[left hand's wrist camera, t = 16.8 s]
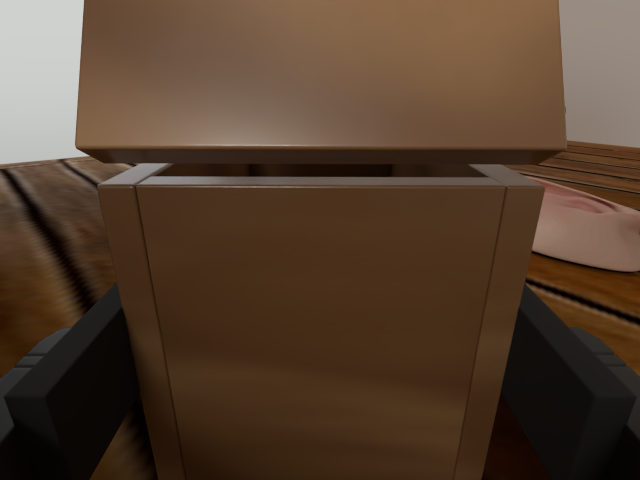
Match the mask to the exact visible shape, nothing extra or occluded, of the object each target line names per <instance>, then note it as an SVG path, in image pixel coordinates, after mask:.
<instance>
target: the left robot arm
mask: <svg viewBox="0 0 640 480" xmlns="http://www.w3.org/2000/svg"><path fill="white" fill-rule="evenodd" d="M139 392H140V389H139V384H138V379H137V375H136V370H135V365H134V360H133V356H132V351H131V346H130V342H129V337H128V332H127V328H126V323H125V318H124V314H123V309H122V304H121V299H120V295H119V290H118V285H117V283H116V284H115V285H114V286H113V287H112V288H111V289H110V290H109V291H108V292H107V293H106V294H105V295H104V296H103V297H102V298H101V299H100V300H99V301H98V302H97V303H96V304H95V305H94V306H93V307H92V308H91V309H90V310H89V311H88V312H87V313H86V314H85V315H84V316H83V317H82V318H81V319H80V320H79V321H78V322H77V323H76V324H75V325H74V326H73V327H72V328H71V329H60V330H58V331H57V332H55V333H53V334H51V335H50V336H48V337H46V338H45V339H43V340H41V341H40V342H39V343H38V344H37V345H36V346H35V347H34V348H33V349H32V350H31V351H30V352H29V353H28V354H27V357H23V358H22V359H21V360H20V361H19V362H18V363H17V364H16V365H15V368H12V369H11V370H10V371H9V372H7V373H6V374H5V375H4V376H3V377H2V378H1V379H0V480H89V479H90V477H91V476H92V474H93V472H94V470H95V469H96V467H97V465H98V463H99V462H100V460H101V458H102V457H103V455H104V453H105V451H106V450H107V448H108V446H109V444H110V443H111V441H112V439H113V437H114V436H115V434H116V432H117V430H118V429H119V427H120V425H121V423H122V422H123V420H124V418H125V416H126V415H127V413H128V411H129V409H130V408H131V406H132V404H133V402H134V401H135V399H136V397H137V395H138V394H139ZM501 393H502V395H503V396H504V398H505V400H506V402H507V403H508V405H509V407H510V409H511V410H512V412H513V414H514V416H515V417H516V419H517V421H518V423H519V424H520V426H521V428H522V430H523V431H524V433H525V435H526V437H527V438H528V440H529V442H530V444H531V445H532V447H533V449H534V450H535V452H536V454H537V456H538V457H539V459H540V461H541V463H542V464H543V466H544V468H545V470H546V471H547V473H548V475H549V477H550V478H551V480H606V479H608V480H640V377H639V376H638V375H637V374H636V373H635V372H634V371H633V370H632V369H631V368H630V367H626V363H624V362H623V361H622V360H621V359H620V358H619V357H618V356H617V355H614V352H613V351H612V350H611V349H610V348H608V347H607V346H606V345H605V344H604V343H603V342H602V341H601V340H600V339H599V338H597V337H595V336H593V335H592V334H590V333H588V332H586V331H585V330H583V329H581V328H580V327H567V326H566V325H565V324H564V322H563V321H562V320H561V319H560V318H559V317H558V316H557V315H556V314H555V313H554V312H553V311H552V310H551V309H550V308H549V307H548V306H547V305H546V304H545V303H544V302H543V301H542V300H541V299H540V298H539V297H538V296H537V295H536V294H535V293H534V292H533V291H532V290H531V289H530V288H529V287H528V286H527V285H526V284H525V283H524V288H523V293H522V297H521V302H520V306H519V309H518V313H517V318H516V322H515V327H514V332H513V336H512V341H511V346H510V350H509V355H508V359H507V364H506V369H505V373H504V378H503V383H502V387H501Z"/></svg>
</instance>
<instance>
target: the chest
mask: <svg viewBox="0 0 640 480" xmlns="http://www.w3.org/2000/svg"><path fill="white" fill-rule="evenodd" d="M97 190H98V195H99V200H100V204H101V209H102V214H103V219H104V223H105V228H106V233H107V238H108V242H109V247H110V252H111V257H112V261H113V266H114V271H115V276H116V280H117V285H118V290H119V295H120V299H121V304H122V309H123V314H124V318H125V323H126V328H127V332H128V337H129V342H130V346H131V351H132V356H133V360H134V365H135V370H136V375H137V379H138V384H139V389H140V394H141V399H142V404H143V408H144V413H145V418H146V423H147V427H148V432H149V437H150V442H151V446H152V451H153V456H154V460H155V465H156V470H157V475H158V479H159V480H481V479H482V475H483V470H484V466H485V461H486V457H487V452H488V447H489V443H490V438H491V434H492V429H493V425H494V420H495V416H496V411H497V406H498V402H499V397H500V393H501V387H502V383H503V378H504V373H505V369H506V364H507V359H508V355H509V350H510V346H511V341H512V336H513V332H514V327H515V322H516V318H517V313H518V309H519V306H520V302H521V297H522V293H523V288H524V283H525V279H526V274H527V270H528V265H529V261H530V256H531V252H532V247H533V242H534V238H535V233H536V229H537V224H538V220H539V215H540V211H541V206H542V201H543V197H544V192H545V186H543V185H541V184H539V183H537V182H535V181H533V180H531V179H529V178H527V177H525V176H523V175H521V174H519V173H517V172H515V171H513V170H511V169H509V168H507V167H505V166H503V165H500V164H176V163H142V164H140V165H137V166H135V167H133V168H131V169H129V170H127V171H125V172H123V173H121V174H119V175H117V176H115V177H113V178H111V179H109V180H107V181H105V182H103V183H101V184H99V185H98V186H97Z"/></svg>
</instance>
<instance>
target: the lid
mask: <svg viewBox="0 0 640 480" xmlns="http://www.w3.org/2000/svg"><path fill="white" fill-rule="evenodd" d="M75 146H76V148H77V149H78V150H80V151H82V152H84V153H86V154H87V155H89V156H91V157H93V158H95V159H97V160H99V161H101V162H103V163H176V164H500V165H538V164H540V163H542V162H544V161H546V160H548V159H550V158H551V157H553V156H555V155H557V154H559V153H561V152H563V151H565V150H566V147H567V140H566V123H565V105H564V88H563V71H562V53H561V36H560V19H559V1H558V0H84V12H83V28H82V44H81V60H80V76H79V91H78V107H77V123H76V139H75Z"/></svg>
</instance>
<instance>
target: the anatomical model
mask: <svg viewBox="0 0 640 480" xmlns="http://www.w3.org/2000/svg"><path fill="white" fill-rule="evenodd" d="M525 177H527V176H525ZM527 178H529V179H531V180H533V181H535V182H537V183H539V184H541V185H543V186H545V192H544V197H543V201H542V206H541V211H540V215H539V220H538V224H537V229H536V233H535V238H534V242H533V247H532V251H535V252H537V253H540V254H544V255H547V256H550V257H554V258H558V259H561V260H565V261H570V262H574V263H578V264H583V265H588V266H592V267H597V268H603V269H608V270H615V271H623V272H635V271H639V270H640V235H639V232H640V211H637V210H634V209H631V208H628V207H625V206H622V205H619V204H616V203H613V202H610V201H608V200H605V199H602V198H599V197H597V196H594V195H591V194H588V193H585V192H582V191H578V190H575V189H571V188H568V187H565V186H561V185H558V184H555V183H551V182H548V181H544V180H541V179H537V178H532V177H527Z"/></svg>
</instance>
